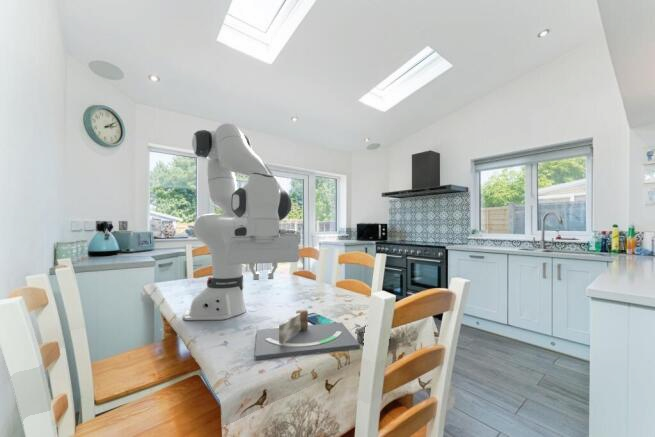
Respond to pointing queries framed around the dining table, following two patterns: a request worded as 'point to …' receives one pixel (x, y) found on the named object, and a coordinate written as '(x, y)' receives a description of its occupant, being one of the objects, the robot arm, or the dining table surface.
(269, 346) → the arc gauge board
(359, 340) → the egg carton
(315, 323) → the smartphone
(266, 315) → the dining table surface
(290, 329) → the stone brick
